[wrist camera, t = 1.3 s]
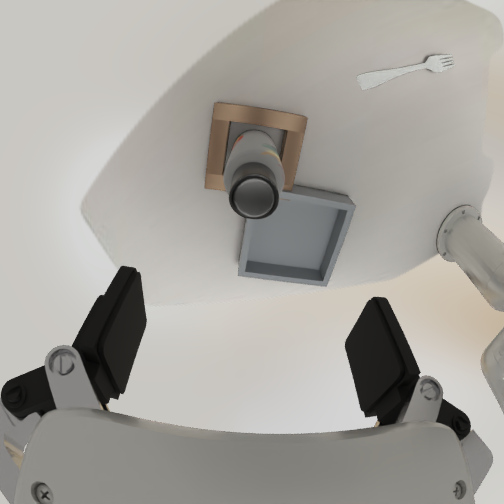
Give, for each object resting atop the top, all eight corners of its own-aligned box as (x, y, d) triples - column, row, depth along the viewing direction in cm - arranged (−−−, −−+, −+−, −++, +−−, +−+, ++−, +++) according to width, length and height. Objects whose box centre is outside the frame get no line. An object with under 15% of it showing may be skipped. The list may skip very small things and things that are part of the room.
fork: (348, 75, 33) (352, 75, 31) (451, 51, 26) (460, 51, 23) (355, 92, 34) (360, 92, 32) (457, 66, 27) (465, 67, 25)
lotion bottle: (228, 160, 38) (207, 221, 21) (241, 123, 35) (228, 153, 18) (266, 172, 39) (276, 242, 22) (280, 136, 36) (304, 178, 19)
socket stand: (303, 116, 34) (307, 117, 32) (287, 193, 41) (289, 200, 38) (217, 102, 33) (214, 103, 31) (207, 181, 40) (204, 188, 37)
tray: (347, 195, 41) (355, 205, 37) (321, 272, 49) (326, 286, 45) (252, 178, 40) (252, 186, 36) (239, 261, 48) (237, 275, 44)
